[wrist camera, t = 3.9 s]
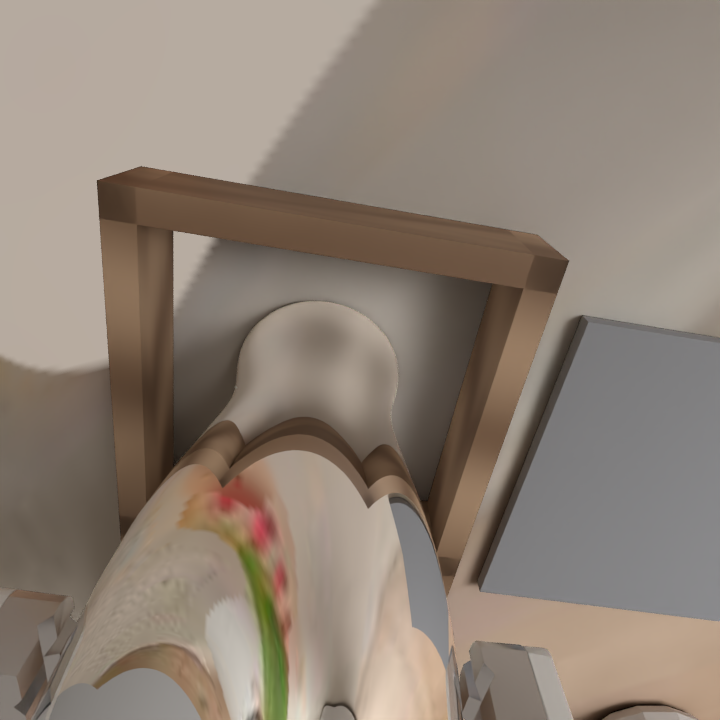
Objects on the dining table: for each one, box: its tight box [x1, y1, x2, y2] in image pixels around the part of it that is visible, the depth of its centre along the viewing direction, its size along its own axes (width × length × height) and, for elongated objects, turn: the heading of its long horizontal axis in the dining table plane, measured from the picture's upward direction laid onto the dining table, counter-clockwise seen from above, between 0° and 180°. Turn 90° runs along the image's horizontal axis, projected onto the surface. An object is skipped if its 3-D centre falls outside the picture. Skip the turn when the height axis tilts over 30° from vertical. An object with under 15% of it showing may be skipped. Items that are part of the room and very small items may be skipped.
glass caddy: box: [97, 166, 569, 597], centre depth 21 cm, size 25×13×3 cm, turn 171°
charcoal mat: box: [478, 315, 720, 621], centre depth 22 cm, size 14×12×1 cm
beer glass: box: [31, 301, 463, 720], centre depth 13 cm, size 7×7×15 cm
